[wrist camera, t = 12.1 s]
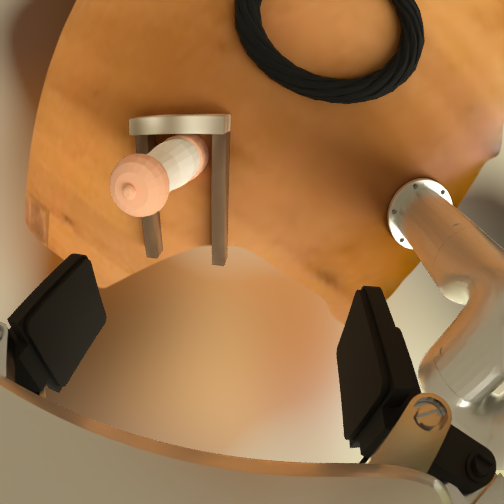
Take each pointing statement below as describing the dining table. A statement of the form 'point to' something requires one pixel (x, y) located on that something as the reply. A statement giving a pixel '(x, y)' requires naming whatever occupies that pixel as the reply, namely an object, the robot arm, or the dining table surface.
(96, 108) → the dining table surface
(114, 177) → the pepper shaker
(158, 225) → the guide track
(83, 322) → the robot arm
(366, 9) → the dining table surface
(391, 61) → the cable lock
